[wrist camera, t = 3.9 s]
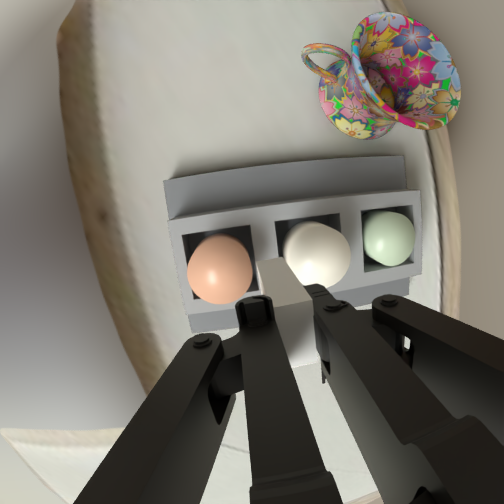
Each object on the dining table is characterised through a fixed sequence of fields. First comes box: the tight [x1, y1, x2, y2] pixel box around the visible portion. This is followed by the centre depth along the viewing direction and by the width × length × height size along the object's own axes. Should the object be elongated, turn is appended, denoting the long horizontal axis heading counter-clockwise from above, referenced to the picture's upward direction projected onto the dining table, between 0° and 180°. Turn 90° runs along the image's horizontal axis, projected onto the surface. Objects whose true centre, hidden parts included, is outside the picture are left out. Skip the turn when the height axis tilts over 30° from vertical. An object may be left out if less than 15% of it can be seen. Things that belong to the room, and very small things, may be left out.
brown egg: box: [187, 233, 253, 304], centre depth 22 cm, size 4×4×4 cm
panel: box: [163, 156, 422, 333], centre depth 26 cm, size 14×22×5 cm, turn 98°
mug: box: [301, 12, 461, 140], centre depth 20 cm, size 12×9×11 cm
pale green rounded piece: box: [361, 209, 415, 266], centre depth 25 cm, size 4×4×4 cm
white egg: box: [282, 221, 351, 288], centre depth 22 cm, size 4×4×4 cm
